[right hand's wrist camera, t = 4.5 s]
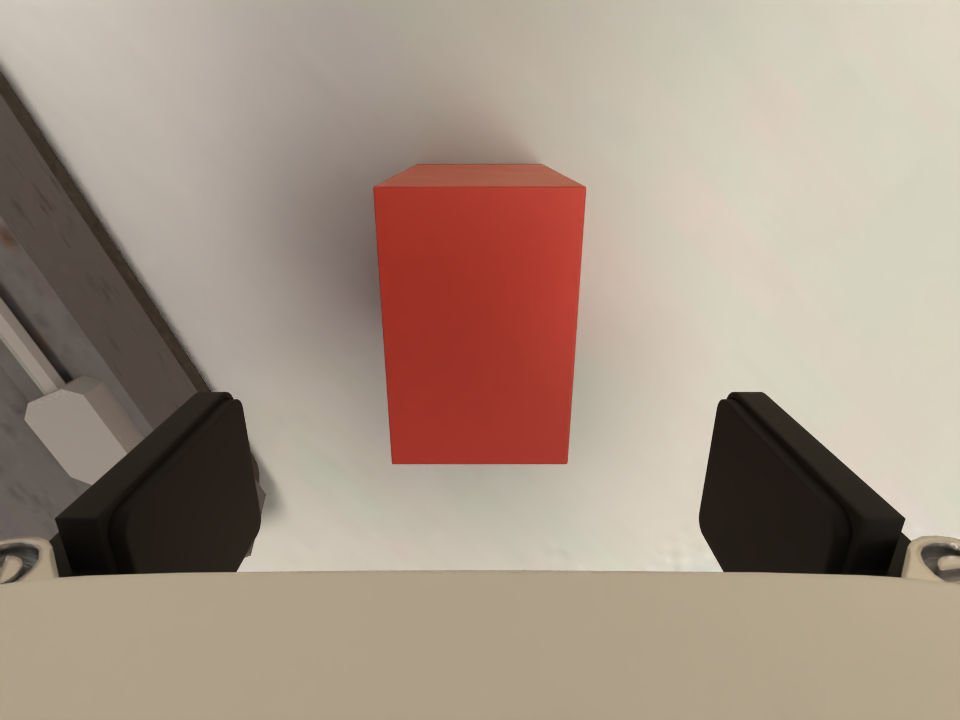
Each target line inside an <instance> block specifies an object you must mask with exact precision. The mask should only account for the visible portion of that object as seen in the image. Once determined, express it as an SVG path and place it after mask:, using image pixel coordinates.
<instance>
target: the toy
mask: <svg viewBox="0 0 960 720" xmlns="http://www.w3.org/2000/svg"><path fill="white" fill-rule="evenodd" d="M197 392H211V391H210V390H209V388H208V387H207V385H206V384H205V382H204V381H203V379H202V378H201V376H200V375H199V373H198V372H197V370H196V369H195V367H194V366H193V364H192V363H191V361H190V359H189V358H188V356H187V355H186V353H185V352H184V350H183V349H182V347H181V346H180V344H179V343H178V341H177V340H176V338H175V337H174V335H173V334H172V332H171V331H170V329H169V328H168V326H167V325H166V323H165V321H164V320H163V318H162V317H161V315H160V314H159V312H158V311H157V309H156V308H155V306H154V305H153V303H152V302H151V300H150V299H149V297H148V296H147V294H146V293H145V291H144V290H143V288H142V287H141V285H140V283H139V282H138V280H137V279H136V277H135V276H134V274H133V273H132V271H131V270H130V268H129V267H128V265H127V264H126V262H125V261H124V259H123V258H122V256H121V255H120V253H119V252H118V250H117V249H116V247H115V245H114V244H113V242H112V241H111V239H110V238H109V236H108V235H107V233H106V232H105V230H104V229H103V227H102V226H101V224H100V223H99V221H98V220H97V218H96V217H95V215H94V214H93V212H92V211H91V209H90V207H89V206H88V204H87V203H86V201H85V200H84V198H83V197H82V195H81V194H80V192H79V191H78V189H77V188H76V186H75V185H74V183H73V182H72V180H71V179H70V177H69V176H68V174H67V173H66V171H65V169H64V168H63V166H62V165H61V163H60V162H59V160H58V159H57V157H56V156H55V154H54V153H53V151H52V150H51V148H50V147H49V145H48V144H47V142H46V141H45V139H44V138H43V136H42V135H41V133H40V131H39V130H38V128H37V127H36V125H35V124H34V122H33V121H32V119H31V118H30V116H29V115H28V113H27V112H26V110H25V109H24V107H23V106H22V104H21V103H20V101H19V100H18V98H17V97H16V95H15V93H14V92H13V90H12V89H11V87H10V86H9V84H8V83H7V81H6V80H5V78H4V77H3V75H2V74H1V72H0V540H1V539H4V538H10V537H18V536H37V537H41V538H43V539H46V540H48V541H50V540H51V539H52V538H53V537H54V536H55V535H56V534H57V533H58V532H59V531H58V528H57V525H56V521H55V518H56V517H57V516H58V515H59V514H60V513H62V512H63V511H64V510H65V509H66V508H67V507H68V506H69V505H70V504H72V503H73V502H74V501H75V500H76V499H77V498H78V497H79V496H81V495H82V494H83V493H84V492H85V491H86V490H87V489H88V488H90V487H91V486H92V485H93V484H94V483H95V482H96V481H97V480H99V479H100V478H101V477H102V476H103V475H104V474H105V473H106V472H108V471H109V470H110V469H111V468H112V467H113V466H114V465H115V464H117V463H118V462H119V461H120V460H121V459H122V458H123V457H124V456H126V455H127V454H128V453H129V452H130V451H131V450H132V449H133V448H135V447H136V446H137V445H138V444H139V443H140V442H141V441H142V440H143V439H145V438H146V437H147V436H148V435H149V434H150V433H151V432H152V431H154V430H155V429H156V428H157V427H158V426H159V425H160V424H161V423H163V422H164V421H165V420H166V419H167V418H168V417H169V416H170V415H172V414H173V413H174V412H175V411H176V410H177V409H178V408H179V407H181V406H182V405H183V404H184V403H185V402H186V401H187V400H188V399H190V398H191V397H192V396H193V395H194V394H195V393H197ZM250 453H251V452H250ZM251 459H252V465H253V471H254V477H255V483H256V489H257V494H258V500H259V506H260V512H262V508H263V504H264V500H265V496H266V494H265V493H264V491H263V490H262V488H261V487H260V485H259V471H258V466H257V463H256V461H255V459H254V457H253V455H252V454H251ZM253 544H254V541H253V543H252V545H251V547H250V548H249V550H248V552H247V554H246V556H245V557H248V556H251V552H252V548H253ZM245 557H244V558H245Z"/></svg>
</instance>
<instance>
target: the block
mask: <svg viewBox="0 0 960 720" xmlns="http://www.w3.org/2000/svg"><path fill="white" fill-rule="evenodd" d="M373 191H374V206H375V221H376V236H377V250H378V265H379V280H380V294H381V309H382V324H383V339H384V353H385V368H386V383H387V398H388V412H389V427H390V442H391V456H392V464H567V462H568V448H569V434H570V419H571V404H572V389H573V374H574V360H575V345H576V330H577V315H578V300H579V286H580V271H581V256H582V241H583V226H584V212H585V197H586V187H585V186H583V185H581V184H579V183H577V182H575V181H573V180H571V179H569V178H567V177H566V176H564V175H562V174H560V173H558V172H556V171H554V170H552V169H550V168H548V167H546V166H545V165H543V164H417V165H415V166H413V167H411V168H409V169H407V170H405V171H403V172H402V173H400V174H398V175H396V176H394V177H392V178H390V179H388V180H386V181H384V182H382V183H380V184H379V185H377V186H375V187H374V188H373Z"/></svg>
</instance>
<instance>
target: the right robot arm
mask: <svg viewBox="0 0 960 720" xmlns="http://www.w3.org/2000/svg"><path fill="white" fill-rule="evenodd" d="M55 521H56V525H57V528H58V531H59V532H58V533H57V534H56V535H55V536H54V537H53V538H52V539H51V540H50V541H48V540H46V539H43V538H41V537H37V536H18V537H10V538H4V539H1V540H0V720H960V540H959V539H956V538H950V537H942V536H923V537H919V538H917V539H914V540H912V541H910V540H909V539H908V538H907V537H906V536H905V535H904V534H903V533H902V532H901V531H902V528H903V525H904V521H905V518H904V517H903V516H902V515H901V514H900V513H898V512H897V511H896V510H895V509H894V508H893V507H892V506H891V505H890V504H888V503H887V502H886V501H885V500H884V499H883V498H882V497H881V496H879V495H878V494H877V493H876V492H875V491H874V490H873V489H872V488H870V487H869V486H868V485H867V484H866V483H865V482H864V481H863V480H861V479H860V478H859V477H858V476H857V475H856V474H855V473H854V472H852V471H851V470H850V469H849V468H848V467H847V466H846V465H845V464H843V463H842V462H841V461H840V460H839V459H838V458H837V457H836V456H834V455H833V454H832V453H831V452H830V451H829V450H828V449H827V448H825V447H824V446H823V445H822V444H821V443H820V442H819V441H818V440H817V439H815V438H814V437H813V436H812V435H811V434H810V433H809V432H808V431H806V430H805V429H804V428H803V427H802V426H801V425H800V424H799V423H797V422H796V421H795V420H794V419H793V418H792V417H791V416H790V415H788V414H787V413H786V412H785V411H784V410H783V409H782V408H781V407H779V406H778V405H777V404H776V403H775V402H774V401H773V400H772V399H770V398H769V397H768V396H767V395H766V394H765V393H763V392H731V393H730V394H729V395H728V397H727V399H722V400H721V401H720V402H719V404H718V407H717V412H716V418H715V423H714V429H713V435H712V441H711V447H710V453H709V459H708V465H707V471H706V477H705V483H704V489H703V494H702V500H701V506H700V512H699V524H700V529H701V532H702V534H703V536H704V538H705V540H706V541H707V543H708V545H709V547H710V548H711V550H712V552H713V554H714V556H715V557H716V559H717V561H718V563H719V564H720V566H721V568H722V570H723V572H654V571H500V570H468V571H299V572H237V570H238V568H239V566H240V564H241V563H242V561H243V559H244V557H245V556H246V554H247V552H248V550H249V548H250V547H251V545H252V543H253V541H254V540H255V538H256V536H257V534H258V532H259V529H260V524H261V512H260V506H259V500H258V494H257V489H256V483H255V477H254V471H253V465H252V459H251V453H250V447H249V441H248V435H247V429H246V423H245V418H244V412H243V407H242V404H241V402H240V401H239V400H238V399H233V397H232V395H231V394H230V393H229V392H197V393H195V394H194V395H193V396H192V397H191V398H190V399H188V400H187V401H186V402H185V403H184V404H183V405H182V406H181V407H179V408H178V409H177V410H176V411H175V412H174V413H173V414H172V415H170V416H169V417H168V418H167V419H166V420H165V421H164V422H163V423H161V424H160V425H159V426H158V427H157V428H156V429H155V430H154V431H152V432H151V433H150V434H149V435H148V436H147V437H146V438H145V439H143V440H142V441H141V442H140V443H139V444H138V445H137V446H136V447H135V448H133V449H132V450H131V451H130V452H129V453H128V454H127V455H126V456H124V457H123V458H122V459H121V460H120V461H119V462H118V463H117V464H115V465H114V466H113V467H112V468H111V469H110V470H109V471H108V472H106V473H105V474H104V475H103V476H102V477H101V478H100V479H99V480H97V481H96V482H95V483H94V484H93V485H92V486H91V487H90V488H88V489H87V490H86V491H85V492H84V493H83V494H82V495H81V496H79V497H78V498H77V499H76V500H75V501H74V502H73V503H72V504H70V505H69V506H68V507H67V508H66V509H65V510H64V511H63V512H62V513H60V514H59V515H58V516H57V517H56V518H55Z"/></svg>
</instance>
